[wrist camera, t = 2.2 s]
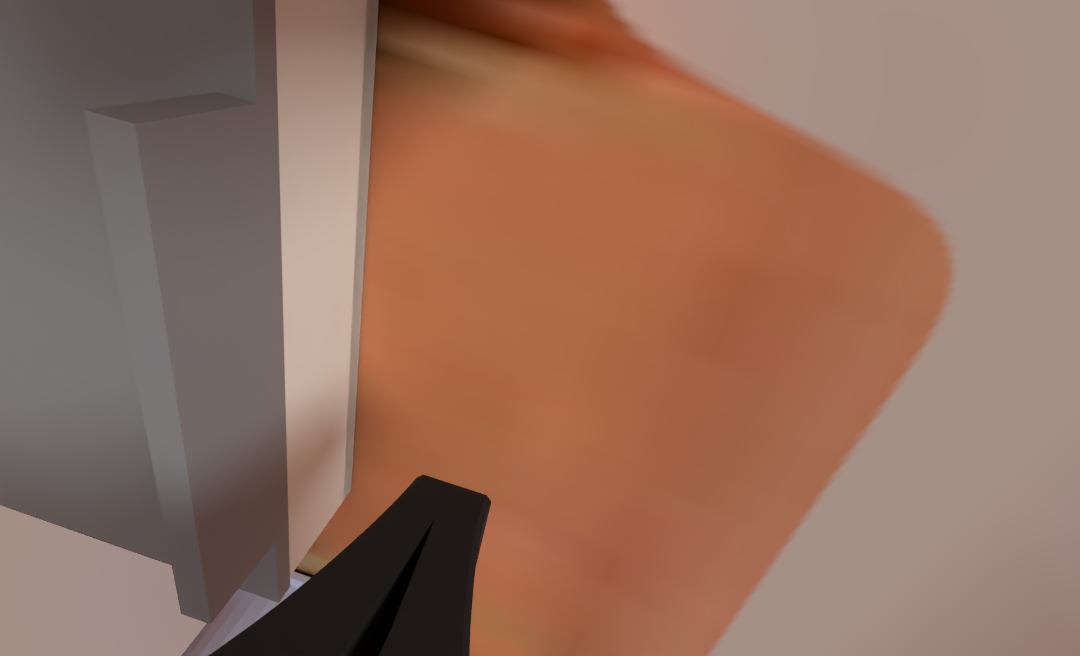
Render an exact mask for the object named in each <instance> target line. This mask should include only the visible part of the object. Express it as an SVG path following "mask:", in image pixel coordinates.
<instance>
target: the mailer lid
mask: <svg viewBox="0 0 1080 656" xmlns="http://www.w3.org/2000/svg"><path fill="white" fill-rule="evenodd" d="M0 505H2V506H5V507H7V508H11V509H13V510H16V511H19V512H22V513H25V514H27V515H31V516H33V517H36V518H39V519H42V520H44V521H47V522H50V523H53V524H56V525H59V526H62V527H65V528H67V529H70V530H73V531H76V532H78V533H81V534H84V535H87V536H90V537H93V538H96V539H99V540H101V541H104V542H107V543H110V544H113V545H115V546H118V547H121V548H124V549H127V550H130V551H132V552H135V553H138V554H141V555H144V556H147V557H150V558H152V559H155V560H158V561H161V562H164V563H167V564H170V565H172V569H173V574H174V579H175V584H176V589H177V594H178V600H179V605H180V610H181V614H184V615H187V616H189V617H192V618H195V619H198V620H201V621H203V622H206V623H209V624H211V623H212V622H213V620H214V619H215V618H216V617H217V615H218V614H219V613H220V612H221V610H222V609H223V608H224V606H225V605H226V604H227V603H228V601H229V600H230V599H231V597H232V596H233V595H234V594H235V592H236V591H237V590H238V589H240V590H243V591H246V592H249V593H252V594H255V595H258V596H260V597H263V598H266V599H269V600H272V601H275V602H277V603H279V602H280V600H281V599H282V598H283V596H284V595H285V593H286V592H287V590H288V589H289V587H290V560H289V521H288V482H287V444H286V405H285V366H284V327H283V288H282V250H281V211H280V172H279V133H278V94H277V56H276V17H275V0H0Z"/></svg>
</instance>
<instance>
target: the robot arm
mask: <svg viewBox="0 0 1080 656" xmlns="http://www.w3.org/2000/svg"><path fill="white" fill-rule="evenodd" d="M490 505H491V501H490V499H489V498H488V497H487V495H484V494H481V493H478V492H475V491H472V490H469V489H466V488H462V487H459V486H456V485H453V484H450V483H447V482H444V481H441V480H438V479H435V478H432V477H429V476H426V475H422V476H419V477H417V478H416V479H415V480H414V482H413V483H412V484H411V485H410V486H409V487H408V488H407V489H406V490H405V491H404V493H403V494H402V495H401V496H400V497H399V498H398V499H397V500H396V501H395V502H394V503H393V504H392V505H391V506H390V507H389V508H388V509H387V510H386V511H385V512H384V513H383V514H382V515H381V516H380V517H379V518H378V519H377V520H376V521H375V522H374V523H373V524H372V525H370V526H369V527H368V528H367V529H366V530H365V531H364V532H363V533H362V534H361V535H360V536H359V537H357V538H356V539H355V540H354V541H353V542H352V543H351V544H350V545H349V546H347V547H346V548H345V549H344V550H343V551H342V552H341V553H340V554H339V555H337V556H336V557H335V558H334V559H333V560H332V561H331V562H330V563H328V564H327V565H326V566H325V567H324V568H323V569H321V570H320V571H319V572H318V573H316V574H315V575H314V576H313V577H309V576H306V575H303V574H300V573H297V572H293V573H292V575H291V576H290V587H289V589H288V590H287V592H286V593H285V595H284V596H283V598H282V599H281V600H280V602H279V603H277V602H275V601H272V600H269V599H266V598H263V597H260V596H258V595H255V594H252V593H249V592H246V591H243V590H240V589H238V590H237V591H236V592H235V594H234V595H233V596H232V597H231V599H230V600H229V601H228V603H227V604H226V605H225V606H224V608H223V609H222V610H221V612H220V613H219V614H218V615H217V617H216V618H215V619H214V620H213V622H212V623H211V624H209V623H207V624H206V625H205V627H204V628H203V629H202V631H201V632H200V633H199V634H198V636H197V637H196V638H195V639H194V641H193V642H192V643H191V644H190V646H189V647H188V648H187V650H186V651H185V652H184V653H183V655H182V656H469V646H470V624H471V610H472V597H473V585H474V576H475V567H476V563H477V559H478V555H479V551H480V547H481V542H482V538H483V534H484V530H485V526H486V521H487V517H488V513H489V509H490Z"/></svg>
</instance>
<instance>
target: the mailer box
mask: <svg viewBox="0 0 1080 656" xmlns="http://www.w3.org/2000/svg"><path fill="white" fill-rule="evenodd" d="M378 5H379V0H275V17H276V56H277V94H278V133H279V172H280V211H281V250H282V288H283V327H284V366H285V405H286V444H287V482H288V521H289V560H290V576H291V575H292V573H293V572H294V570H295V569H296V567H297V566H298V565H299V563H300V562H301V560H302V559H303V558H304V556H305V555H306V553H307V552H308V550H309V549H310V548H311V546H312V545H313V543H314V542H315V541H316V539H317V538H318V536H319V535H320V533H321V532H322V531H323V529H324V528H325V526H326V525H327V524H328V522H329V521H330V519H331V518H332V516H333V515H334V514H335V512H336V511H337V509H338V508H339V507H340V505H341V504H342V502H343V501H344V499H345V498H346V497H347V495H348V494H349V492H350V491H351V486H352V468H353V451H354V433H355V415H356V397H357V379H358V362H359V344H360V326H361V308H362V290H363V272H364V255H365V237H366V219H367V201H368V183H369V165H370V148H371V130H372V112H373V94H374V76H375V58H376V41H377V23H378Z"/></svg>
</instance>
